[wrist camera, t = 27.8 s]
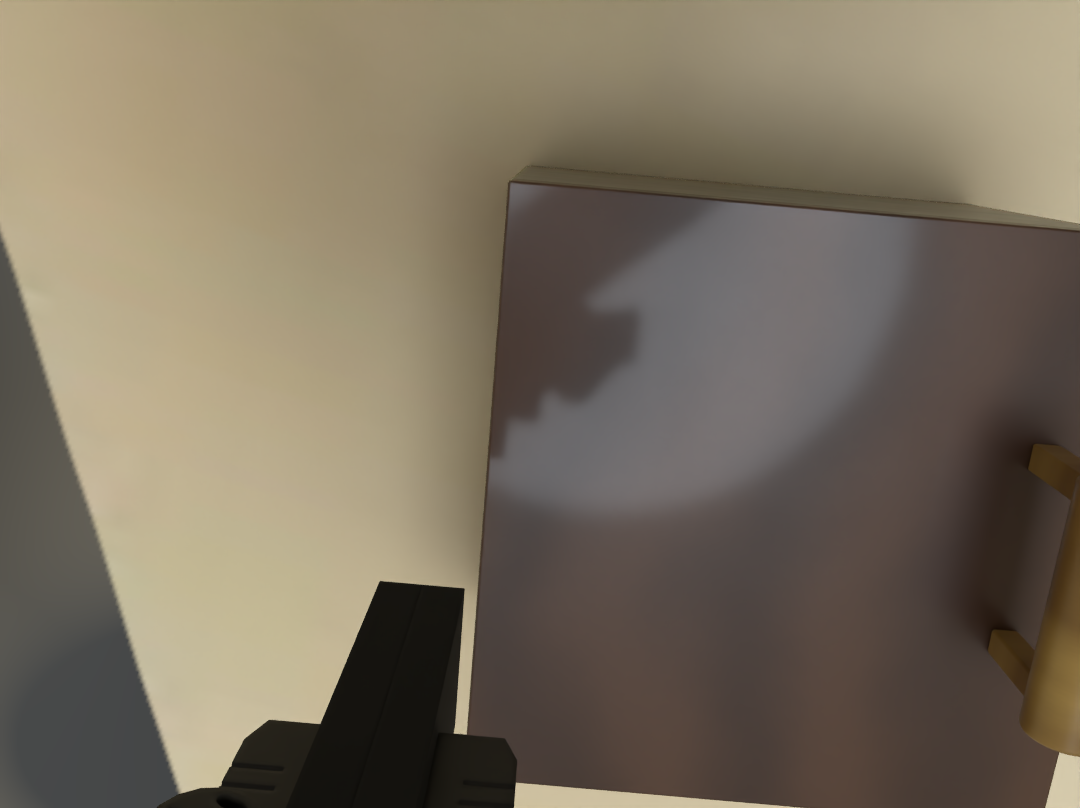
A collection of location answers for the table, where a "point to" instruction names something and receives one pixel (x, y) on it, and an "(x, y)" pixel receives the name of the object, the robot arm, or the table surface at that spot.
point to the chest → (782, 195)
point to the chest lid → (781, 502)
